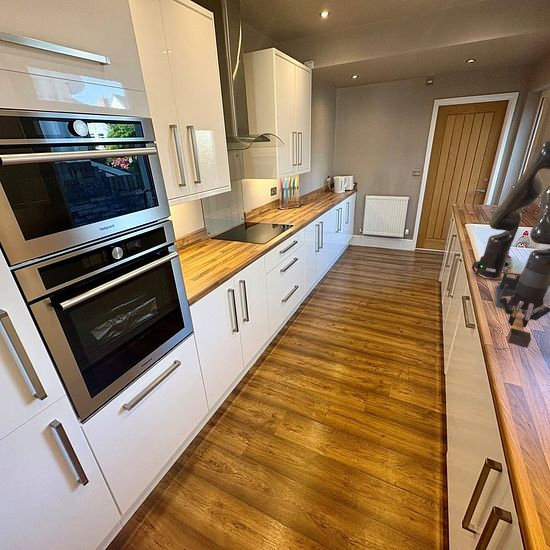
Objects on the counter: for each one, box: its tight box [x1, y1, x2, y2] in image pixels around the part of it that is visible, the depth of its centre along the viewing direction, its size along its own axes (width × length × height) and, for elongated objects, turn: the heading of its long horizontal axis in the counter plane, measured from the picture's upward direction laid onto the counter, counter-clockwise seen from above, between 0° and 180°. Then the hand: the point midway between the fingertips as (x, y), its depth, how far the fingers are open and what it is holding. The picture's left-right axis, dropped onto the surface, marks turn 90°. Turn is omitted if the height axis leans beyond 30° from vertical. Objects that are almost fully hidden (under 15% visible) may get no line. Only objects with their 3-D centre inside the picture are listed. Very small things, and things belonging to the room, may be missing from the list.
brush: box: [507, 306, 532, 349], centre depth 100 cm, size 22×5×3 cm, turn 145°
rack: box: [495, 271, 526, 314], centre depth 122 cm, size 20×11×14 cm, turn 145°
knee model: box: [503, 252, 515, 272], centre depth 157 cm, size 9×8×25 cm
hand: (515, 325), depth 101 cm, fingers closed on brush, 2 cm apart
